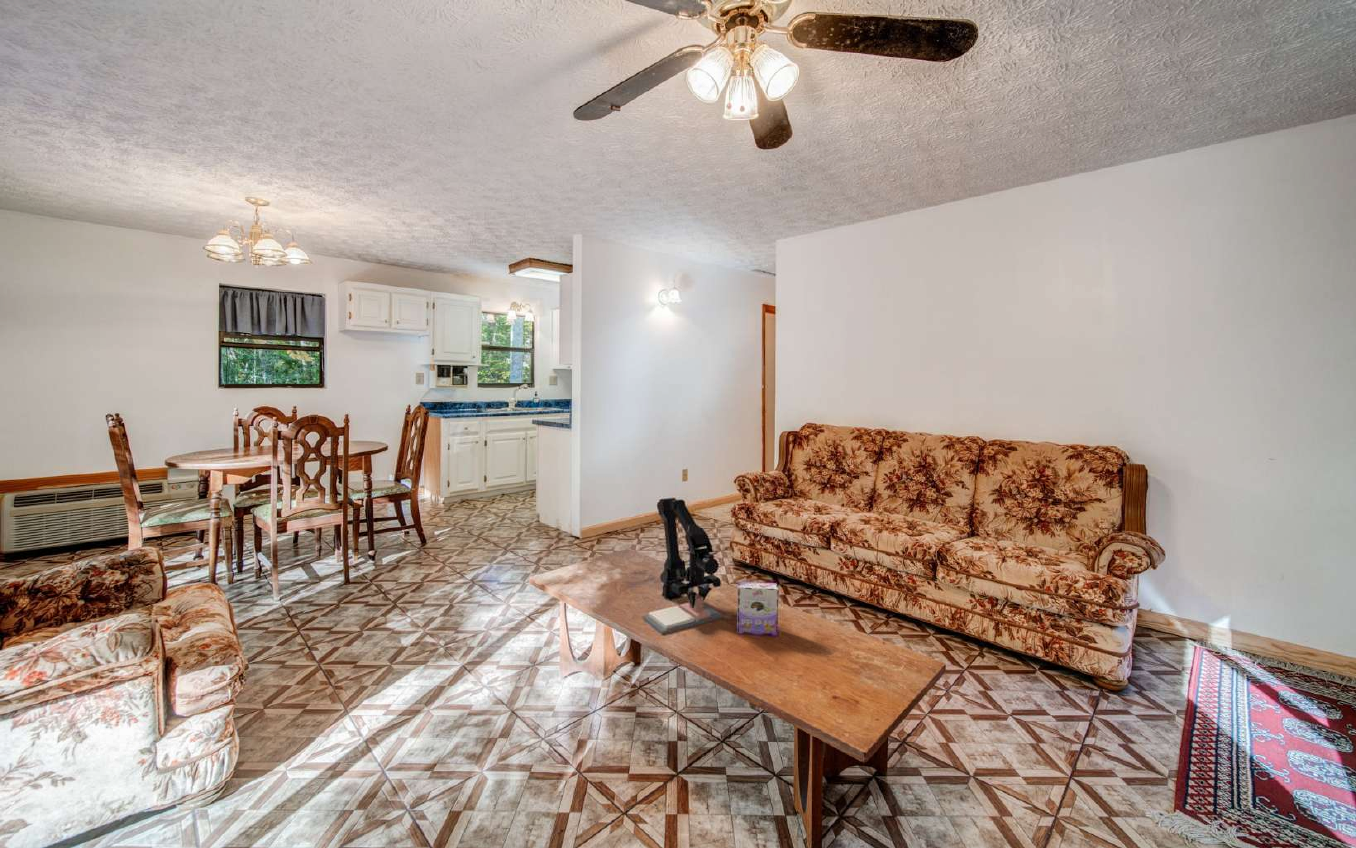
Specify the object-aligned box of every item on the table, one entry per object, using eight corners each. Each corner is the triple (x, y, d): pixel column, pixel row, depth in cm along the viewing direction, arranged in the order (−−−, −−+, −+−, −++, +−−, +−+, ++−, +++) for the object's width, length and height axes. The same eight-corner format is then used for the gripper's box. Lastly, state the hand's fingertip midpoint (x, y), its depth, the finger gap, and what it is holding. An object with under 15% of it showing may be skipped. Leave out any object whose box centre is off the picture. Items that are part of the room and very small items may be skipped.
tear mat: (701, 604, 203) (701, 601, 203) (723, 617, 191) (723, 615, 191) (642, 618, 189) (642, 616, 189) (662, 634, 178) (662, 631, 177)
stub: (692, 604, 200) (692, 589, 199) (710, 616, 190) (711, 600, 189) (679, 607, 197) (680, 591, 196) (697, 620, 186) (698, 603, 186)
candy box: (776, 628, 184) (777, 582, 183) (777, 636, 178) (779, 589, 177) (736, 625, 185) (737, 580, 184) (736, 633, 179) (738, 587, 178)
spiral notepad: (678, 608, 196) (678, 605, 196) (696, 621, 186) (696, 617, 186) (648, 615, 189) (648, 612, 189) (665, 629, 179) (665, 625, 179)
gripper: (705, 555, 204) (704, 594, 205) (664, 563, 194) (663, 604, 195) (722, 564, 194) (721, 605, 195) (680, 572, 184) (679, 615, 186)
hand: (695, 607), depth 193 cm, fingers closed on stub, 3 cm apart
